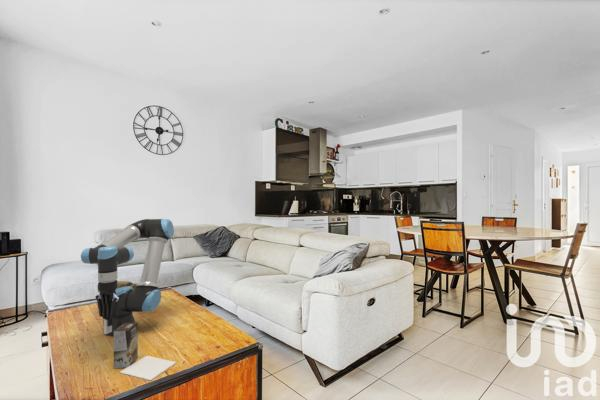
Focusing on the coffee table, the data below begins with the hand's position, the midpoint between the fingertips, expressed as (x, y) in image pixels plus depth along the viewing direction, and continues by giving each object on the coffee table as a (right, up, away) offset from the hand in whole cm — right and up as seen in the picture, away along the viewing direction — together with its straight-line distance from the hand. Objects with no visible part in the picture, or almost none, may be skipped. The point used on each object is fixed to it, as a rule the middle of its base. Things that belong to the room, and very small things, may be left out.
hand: (108, 332), depth 137 cm
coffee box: (+10, -12, -4) cm, 16 cm away
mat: (+23, -12, -8) cm, 27 cm away
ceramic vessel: (-31, -12, +60) cm, 69 cm away
